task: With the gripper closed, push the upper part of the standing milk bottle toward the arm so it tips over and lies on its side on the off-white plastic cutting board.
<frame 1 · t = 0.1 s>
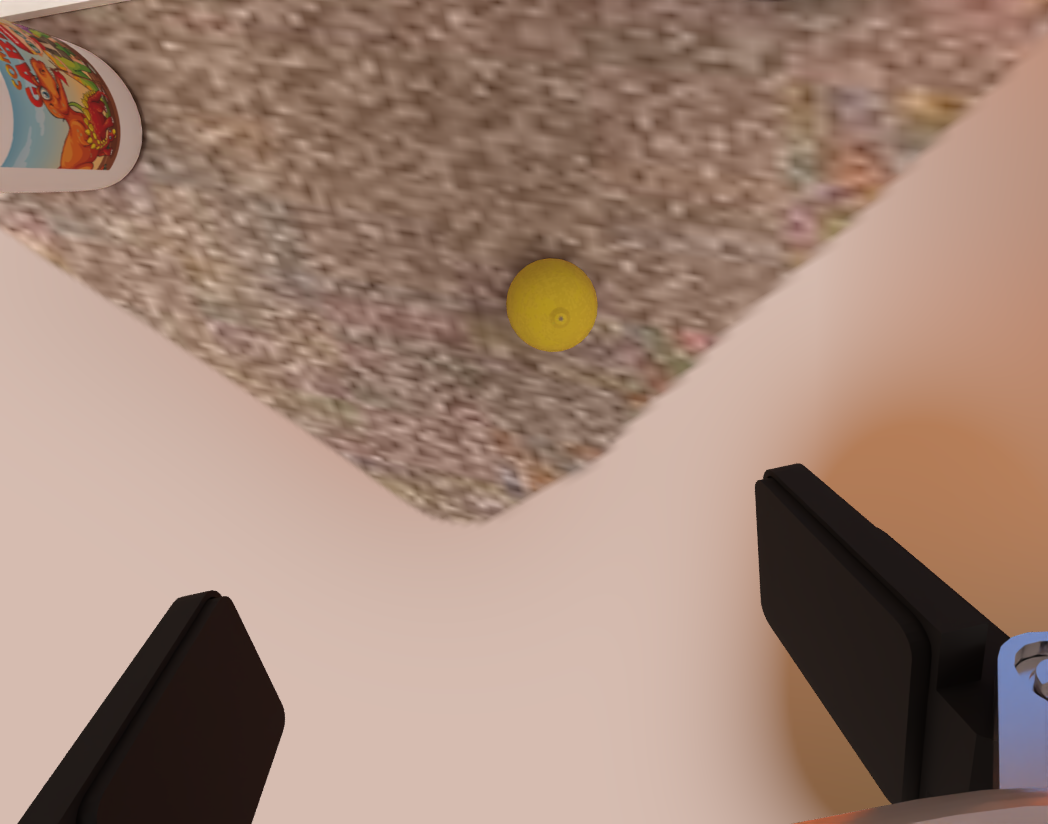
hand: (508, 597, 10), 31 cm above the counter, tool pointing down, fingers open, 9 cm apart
milk bottle: (78, 119, 34), on the counter
lemon: (543, 292, 40), on the counter
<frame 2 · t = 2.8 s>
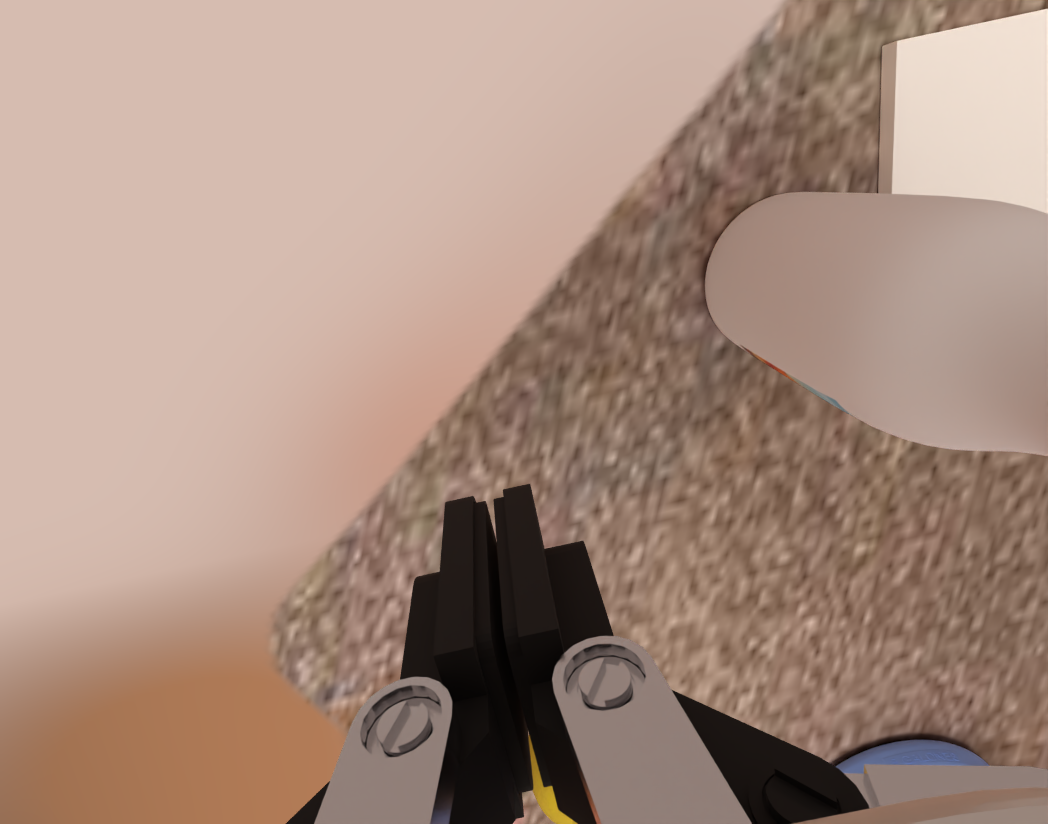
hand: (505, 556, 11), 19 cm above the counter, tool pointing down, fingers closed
cutting board: (1016, 224, 29), on the counter
milk bottle: (774, 274, 29), on the counter
lemon: (564, 700, 38), on the counter
water jug: (885, 805, 45), on the counter
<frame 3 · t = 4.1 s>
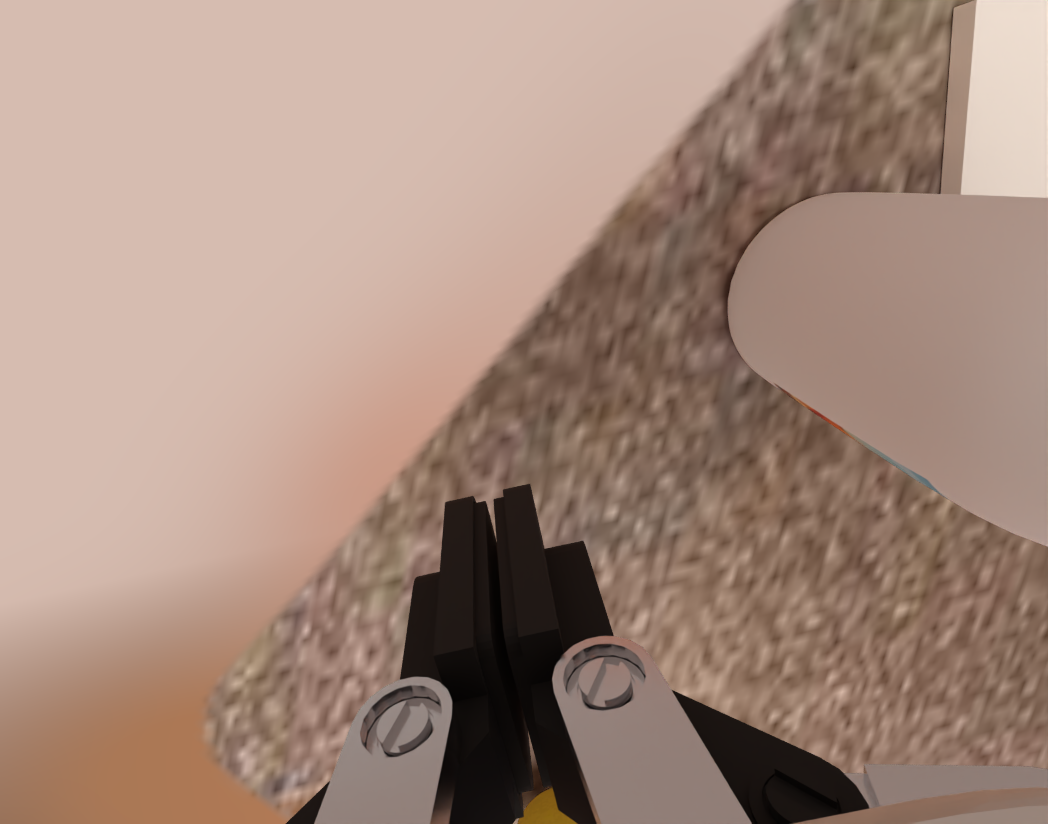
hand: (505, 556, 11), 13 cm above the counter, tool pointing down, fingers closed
milk bottle: (811, 292, 24), on the counter
lemon: (556, 783, 33), on the counter
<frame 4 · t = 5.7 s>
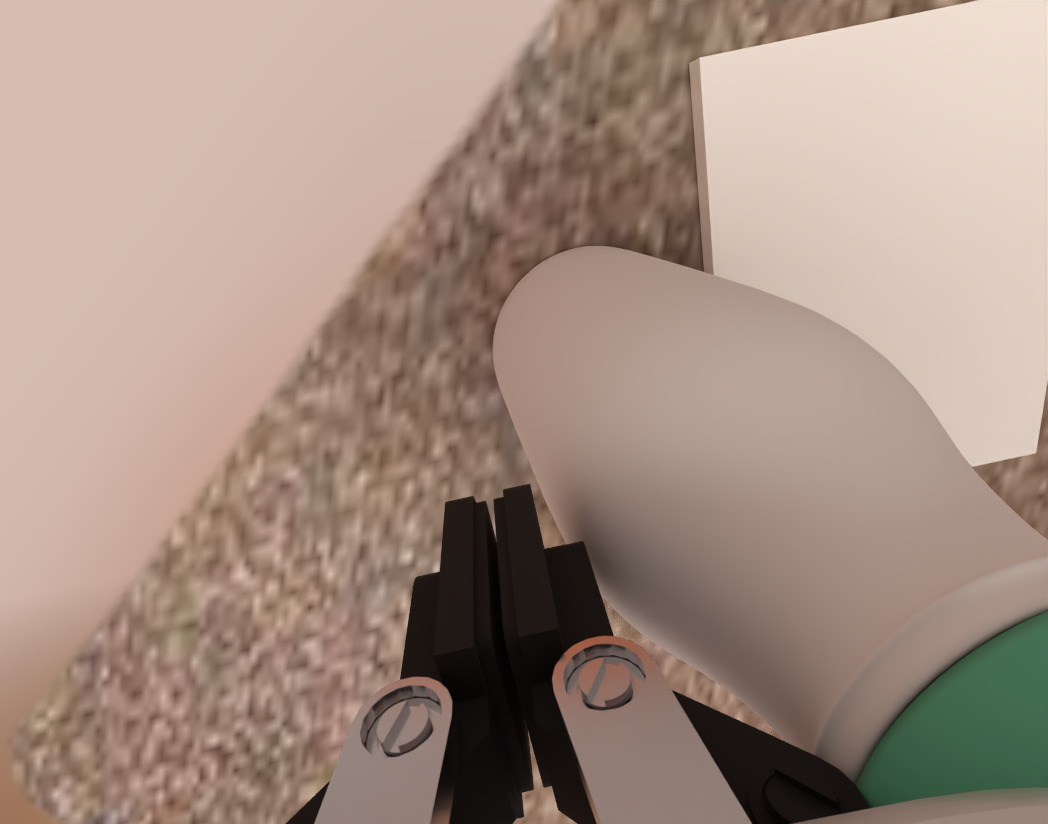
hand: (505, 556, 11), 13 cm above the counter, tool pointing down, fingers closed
cutting board: (876, 281, 24), on the counter
milk bottle: (585, 343, 23), on the counter
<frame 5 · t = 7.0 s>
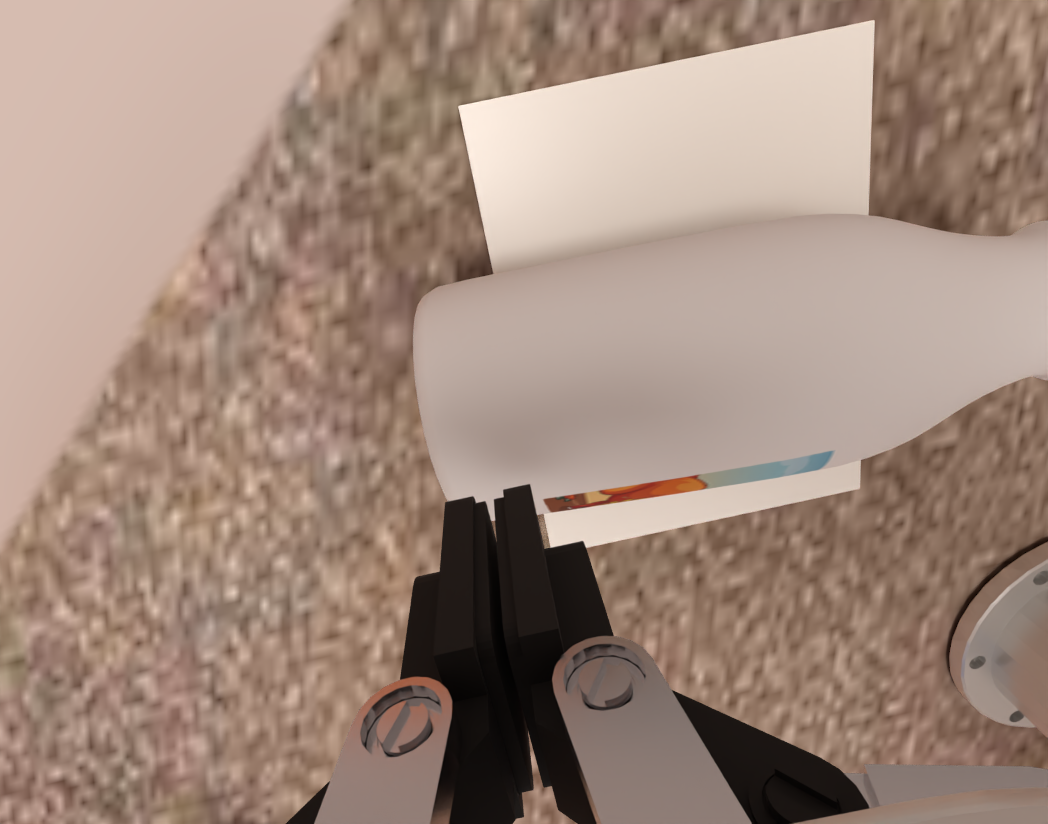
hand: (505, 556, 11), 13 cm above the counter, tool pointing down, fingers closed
cutting board: (681, 320, 24), on the counter
milk bottle: (441, 408, 19), point 5 cm above the counter, touching cutting board
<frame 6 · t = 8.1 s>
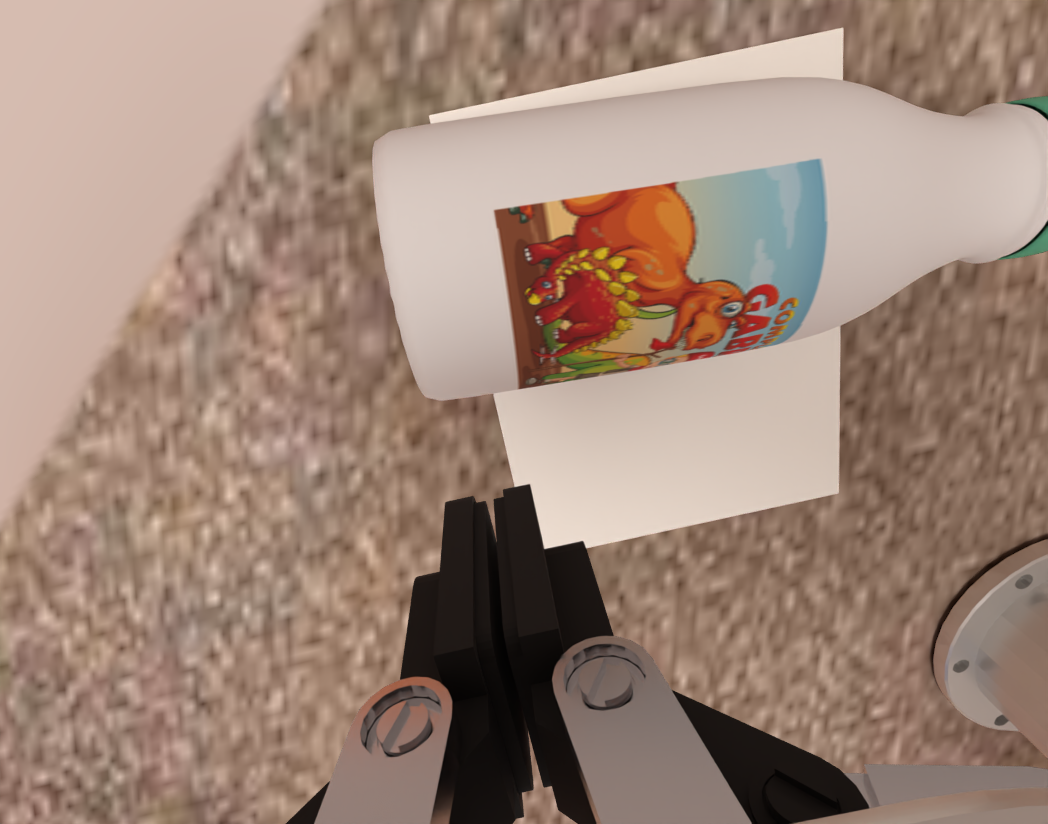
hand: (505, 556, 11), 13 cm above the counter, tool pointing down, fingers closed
cutting board: (657, 326, 24), on the counter
milk bottle: (393, 277, 17), point 5 cm above the counter, touching cutting board
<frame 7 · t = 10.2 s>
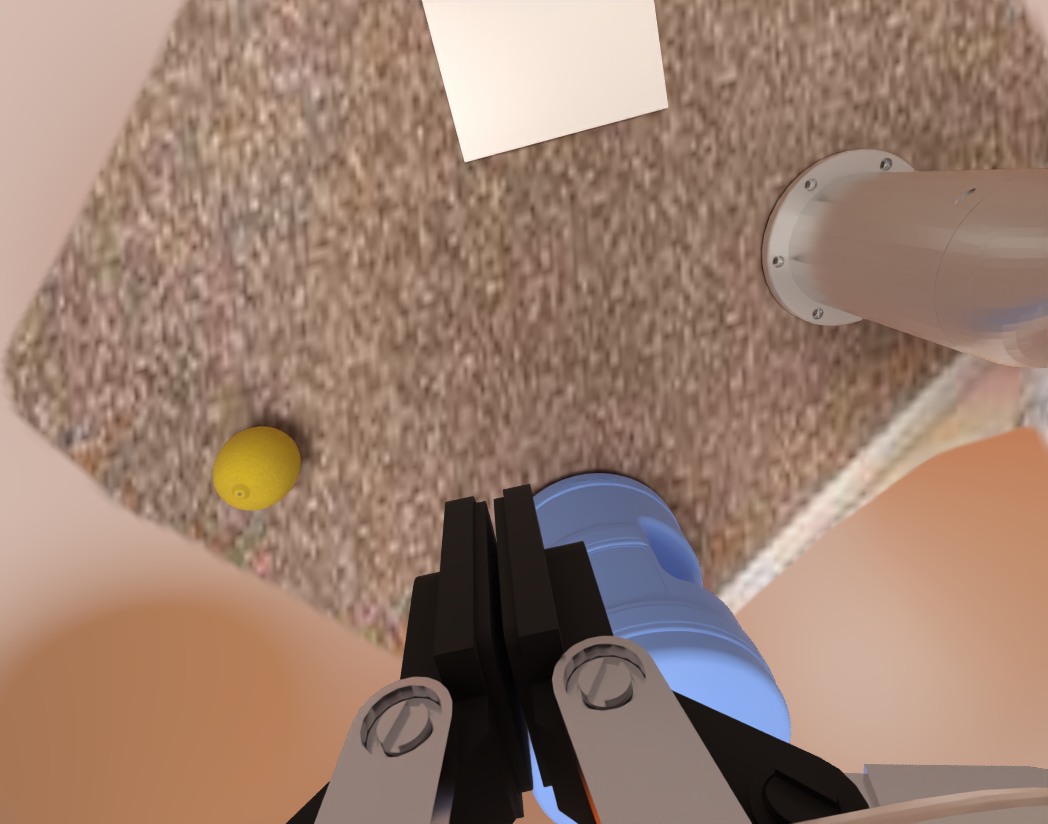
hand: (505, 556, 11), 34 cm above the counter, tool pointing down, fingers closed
lemon: (276, 442, 46), on the counter
water jug: (588, 545, 52), on the counter
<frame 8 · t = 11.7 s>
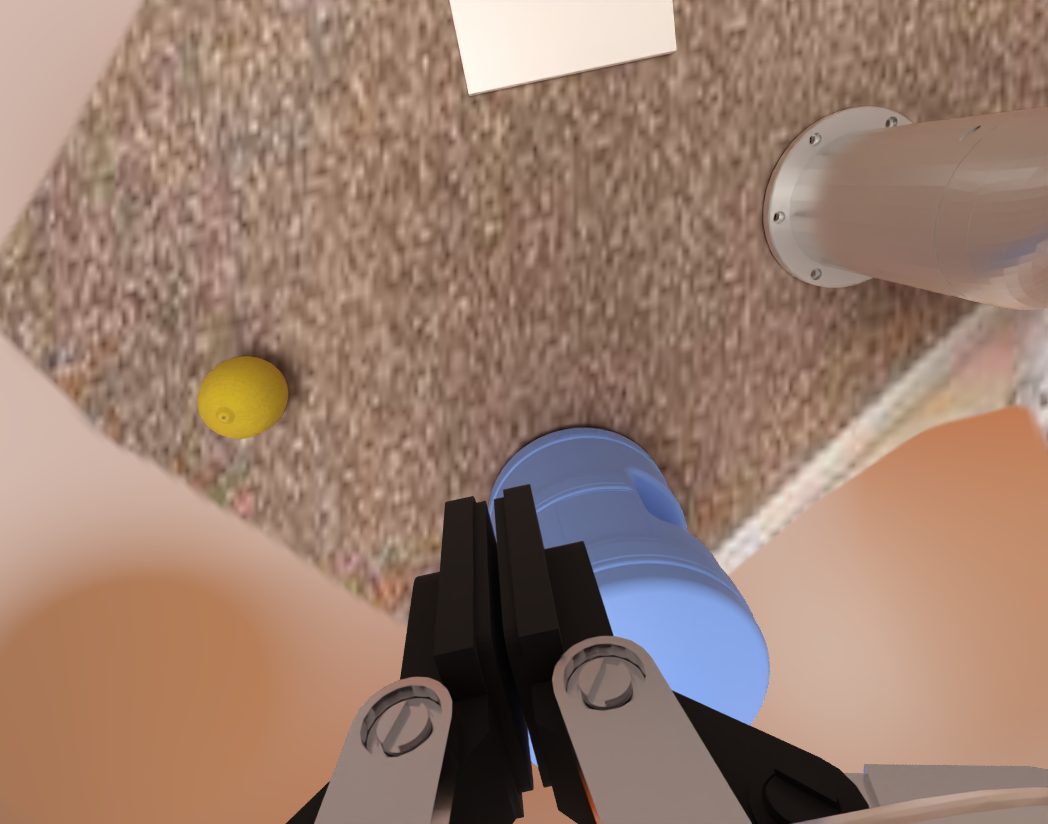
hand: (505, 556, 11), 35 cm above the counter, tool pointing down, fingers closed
lemon: (264, 378, 46), on the counter
water jug: (575, 503, 52), on the counter
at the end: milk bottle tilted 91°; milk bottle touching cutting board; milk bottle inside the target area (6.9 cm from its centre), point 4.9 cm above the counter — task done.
